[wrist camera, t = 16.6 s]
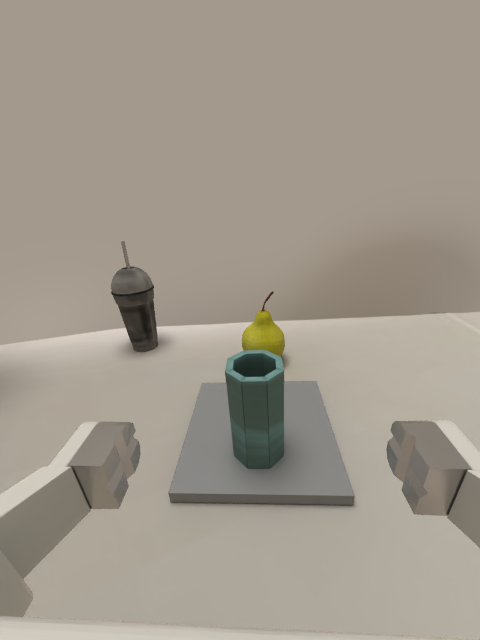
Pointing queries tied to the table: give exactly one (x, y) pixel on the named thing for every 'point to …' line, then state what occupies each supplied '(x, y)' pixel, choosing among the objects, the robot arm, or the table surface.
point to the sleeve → (256, 407)
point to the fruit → (264, 334)
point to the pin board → (262, 484)
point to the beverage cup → (136, 305)
